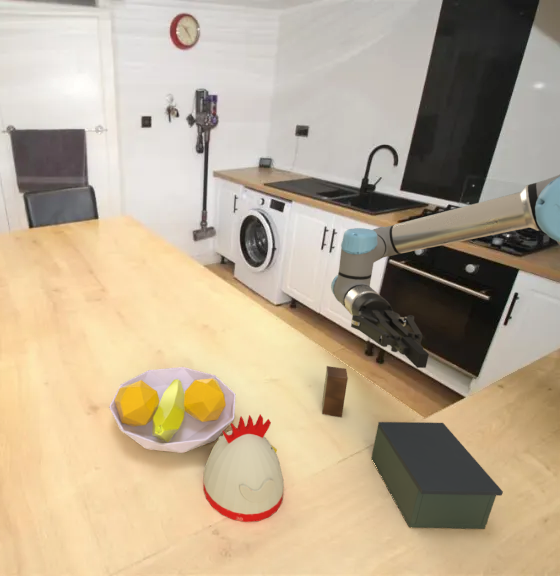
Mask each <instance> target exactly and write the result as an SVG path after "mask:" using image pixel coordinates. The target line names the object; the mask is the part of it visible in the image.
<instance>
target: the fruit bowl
mask: <svg viewBox="0 0 560 576" xmlns="http://www.w3.org/2000/svg"><path fill="white" fill-rule="evenodd" d="M108 408H109V410H110V412H111V414H112V416H113V418H114V421H115V422H116V424H117V427H118V428H119V431H120V432H122V433H124V435H126V436H127V437H129V438H130V439H131V440H133V441H134V442H136V443H137V444H139V446H141V447H142V448H144V449H145V450H152V451H161V452H172V453H179V454H184V453H187V452H189V451H192V450H194V449H197V448H199V447H202V446H206V445H208V444H210V443H213V442H215V441H216V440H218V438H219V437H220V436H221V435H222V434H223V431H222V430H224V431H225V430H226V429H227V428H228V427H229V426H230V425H231V423H232V422H233V421H234V420H235V411H236V393H235V392H234V391H233V390H232V389H231V388H230V387H229V386H228V385H227V384H225V383H224V382H223V381H222V380H221V379H220V378H219V377H217V375H216V374H211V373H209V372H204V371H200V370H197V369H193V368H189V367H186V366H185V367H184V366H180V367H179V366H178V367H169V368H157V369H156V368H155V369H148V370H146V371H143V372H142V373H140V374H138V375H136V376H135V377H132V378H130V379H128V380H126V381H125V382H124V381H123V383H120V385H119V387H118V388H117V390H116V393H115V394H114V397H113V398H112V401H111V402H110V405H109V406H108Z"/></svg>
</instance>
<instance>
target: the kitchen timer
mask: <svg viewBox="0 0 560 576" xmlns="http://www.w3.org/2000/svg"><path fill="white" fill-rule="evenodd" d="M271 423H272V422H271V420H270V419H269V418H268V419H267V420H266V421H264V417H263V416H262V414H259V415H258V417H257V420H256V422H255V424H254V421H253V418H252V417H251V415H250V414H249V415H248V419H247V422H246V424H245V420H244V418H243V417H242V415H241V416H240V417H239V420H238V425H237V427H236V426H235V425H234V423H232V422H231V423H230V427H231V430H229V431H227V432H226V431H225V430H222V431H223V432H222V434H223V435H220V436H219V437H218V438H217V441H216V442H215V444H213V447H212V449H211V451H210V454H209V456H208V458H207V461H206V462H205V463H206V464H205V466H204V469H203V492H204V495H205V499H206V500H207V501H208V503H209V505H211V507H212V508H213V510H215V511H216V512H218V513H219V514H220V515H222V516H224V517H227V518H228V519H231V520H233V521H239V522H242V523H243V522H244V523H251V522H259V521H262V520H266V519H269V518H270V517H271V516H273V514H275V513H277V512H278V510H279V508H280V507H281V505H282V503H283V498H284V497H283V496H284V491H285V490H284V489H285V483H284V476H283V471H282V467H281V464H280V461H279V457H278V455H277V452H278V449H277V448H276V447H275V446H273V445H272V444H271V442H270V441H269V440H268V439H267V437H265V435H266V433H267V432H268V431H269V429H270V426H271Z"/></svg>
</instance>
